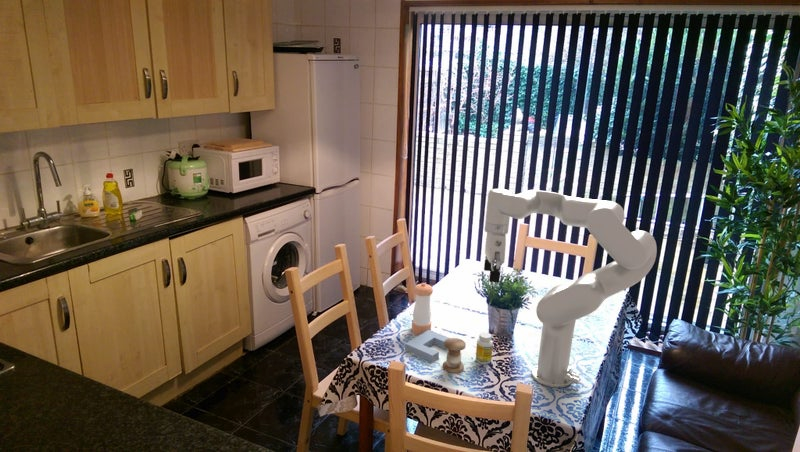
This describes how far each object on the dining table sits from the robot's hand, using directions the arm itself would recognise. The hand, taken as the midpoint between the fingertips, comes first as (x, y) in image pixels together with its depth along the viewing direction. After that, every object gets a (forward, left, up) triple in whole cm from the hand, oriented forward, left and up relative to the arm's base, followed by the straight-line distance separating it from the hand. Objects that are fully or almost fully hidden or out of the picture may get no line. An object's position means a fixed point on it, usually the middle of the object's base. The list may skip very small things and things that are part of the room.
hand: (491, 276), depth 179 cm
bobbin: (+3, +15, -29) cm, 33 cm away
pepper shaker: (+27, +1, -30) cm, 40 cm away
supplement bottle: (-2, +4, -30) cm, 30 cm away
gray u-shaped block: (+16, +10, -29) cm, 35 cm away
